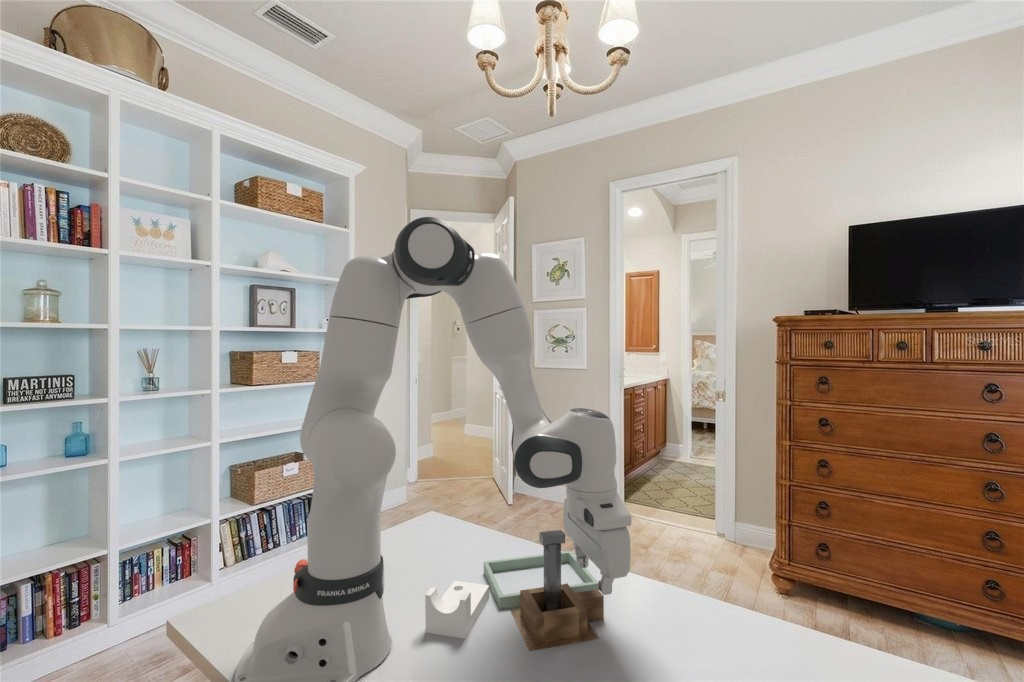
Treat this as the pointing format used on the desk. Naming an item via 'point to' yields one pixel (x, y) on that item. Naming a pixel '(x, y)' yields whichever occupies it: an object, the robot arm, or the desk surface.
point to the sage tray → (528, 563)
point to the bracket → (455, 608)
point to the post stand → (551, 593)
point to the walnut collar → (560, 613)
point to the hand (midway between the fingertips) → (593, 578)
